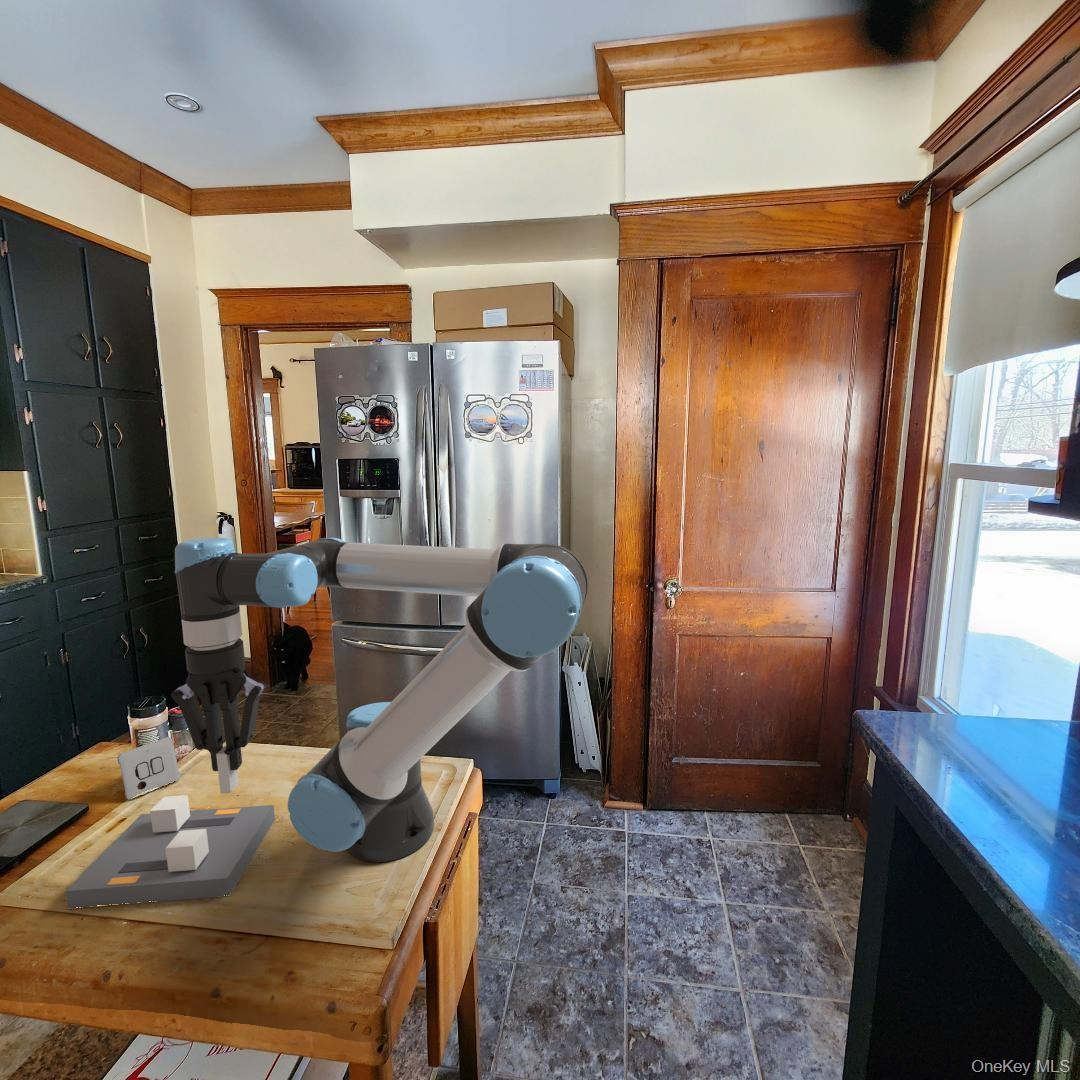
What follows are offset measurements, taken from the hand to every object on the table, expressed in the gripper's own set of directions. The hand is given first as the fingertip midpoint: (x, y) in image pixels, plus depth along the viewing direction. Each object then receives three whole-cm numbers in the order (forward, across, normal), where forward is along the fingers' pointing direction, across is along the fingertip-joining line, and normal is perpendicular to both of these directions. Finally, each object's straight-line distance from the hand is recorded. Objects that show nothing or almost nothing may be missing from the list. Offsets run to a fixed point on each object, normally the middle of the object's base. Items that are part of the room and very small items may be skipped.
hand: (229, 788), depth 86 cm
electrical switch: (+16, +30, -28) cm, 44 cm away
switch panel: (+15, +11, -5) cm, 20 cm away
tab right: (+12, +15, -10) cm, 22 cm away
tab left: (+12, +7, 0) cm, 14 cm away
